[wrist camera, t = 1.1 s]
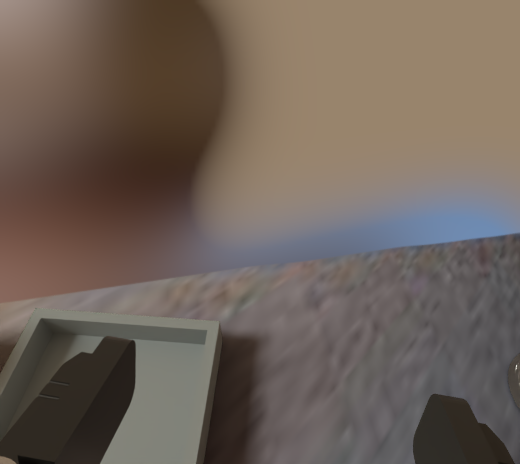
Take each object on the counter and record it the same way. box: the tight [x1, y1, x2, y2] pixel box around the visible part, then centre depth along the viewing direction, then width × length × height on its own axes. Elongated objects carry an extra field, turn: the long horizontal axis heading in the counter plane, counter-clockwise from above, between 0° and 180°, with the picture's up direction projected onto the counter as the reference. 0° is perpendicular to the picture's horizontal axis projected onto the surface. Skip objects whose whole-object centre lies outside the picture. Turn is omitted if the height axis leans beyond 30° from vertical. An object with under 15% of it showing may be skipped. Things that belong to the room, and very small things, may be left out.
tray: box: [0, 308, 223, 464], centre depth 33 cm, size 18×16×4 cm
